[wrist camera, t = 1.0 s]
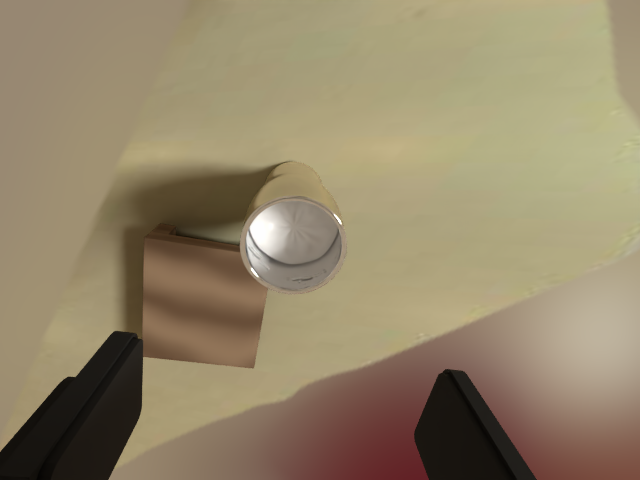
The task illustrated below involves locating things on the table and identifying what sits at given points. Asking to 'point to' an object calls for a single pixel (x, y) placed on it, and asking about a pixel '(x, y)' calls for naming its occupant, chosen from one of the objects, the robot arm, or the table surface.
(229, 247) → the walnut shelf
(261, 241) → the beer glass
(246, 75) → the table surface
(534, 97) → the table surface
